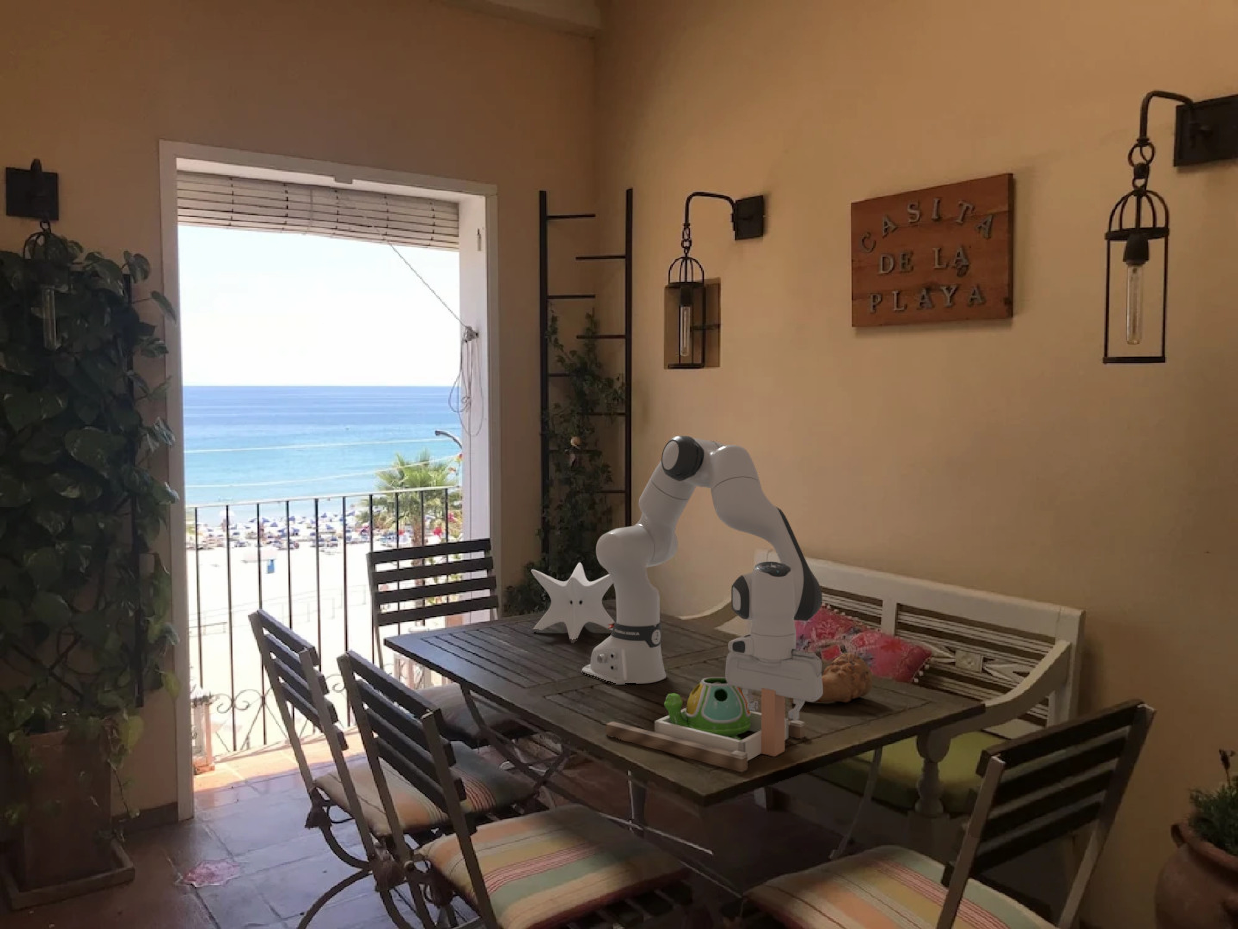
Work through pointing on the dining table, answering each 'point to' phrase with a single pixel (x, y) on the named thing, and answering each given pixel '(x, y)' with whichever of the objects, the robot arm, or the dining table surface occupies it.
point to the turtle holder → (712, 708)
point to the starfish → (575, 601)
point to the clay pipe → (845, 679)
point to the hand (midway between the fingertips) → (772, 715)
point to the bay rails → (691, 744)
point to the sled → (765, 724)
